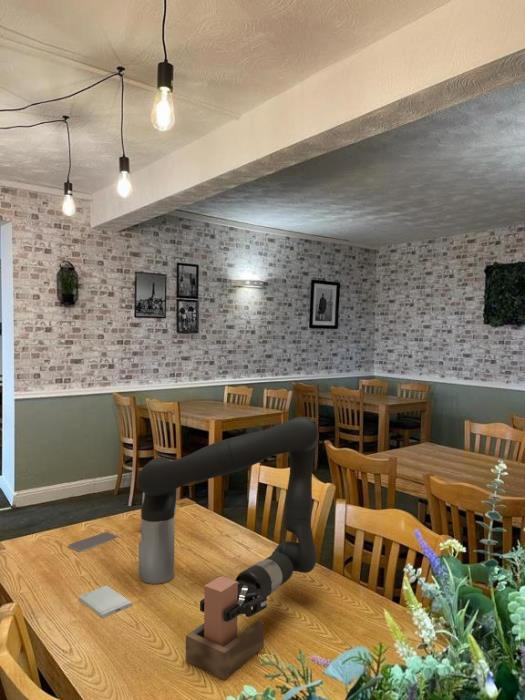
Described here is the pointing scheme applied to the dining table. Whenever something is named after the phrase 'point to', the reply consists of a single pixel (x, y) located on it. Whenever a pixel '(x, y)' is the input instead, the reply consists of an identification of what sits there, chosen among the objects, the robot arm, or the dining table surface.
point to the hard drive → (105, 601)
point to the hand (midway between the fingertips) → (213, 612)
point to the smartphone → (92, 542)
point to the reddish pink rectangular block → (219, 610)
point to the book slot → (223, 650)
